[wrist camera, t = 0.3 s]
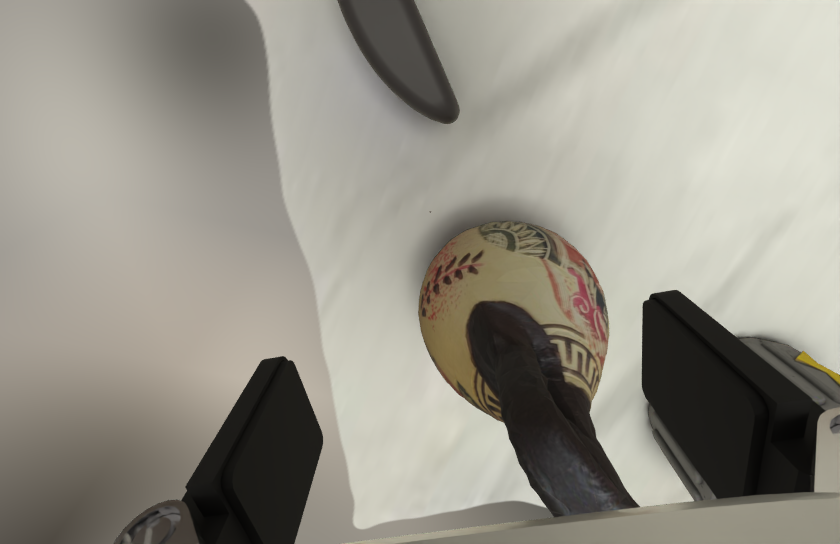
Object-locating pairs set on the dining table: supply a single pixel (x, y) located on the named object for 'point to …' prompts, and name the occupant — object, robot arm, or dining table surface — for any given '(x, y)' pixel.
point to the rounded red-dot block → (402, 54)
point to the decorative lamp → (790, 363)
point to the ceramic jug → (527, 353)
